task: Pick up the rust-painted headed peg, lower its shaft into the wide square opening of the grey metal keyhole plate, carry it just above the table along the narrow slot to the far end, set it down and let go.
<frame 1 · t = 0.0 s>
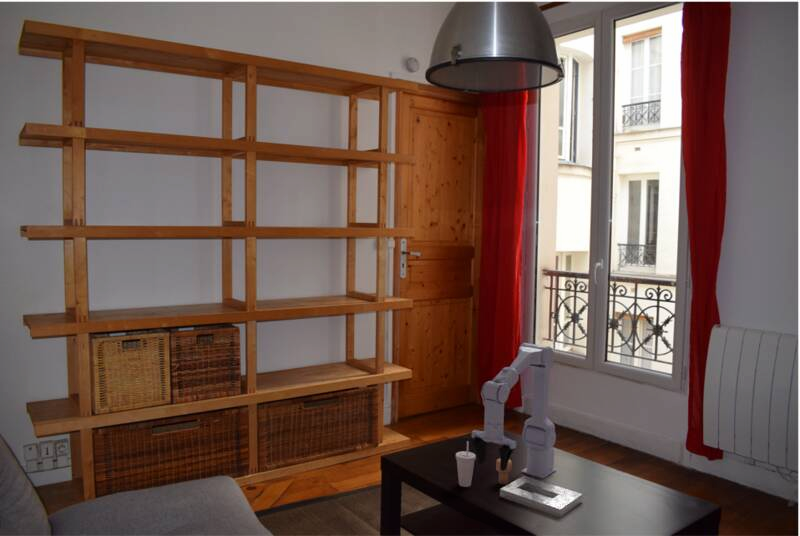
hand: (492, 466, 192), 10 cm above the table, fingers open, 7 cm apart
smoothie: (464, 485, 203), on the table
peg: (503, 482, 205), on the table
keyhole plate: (540, 499, 193), on the table
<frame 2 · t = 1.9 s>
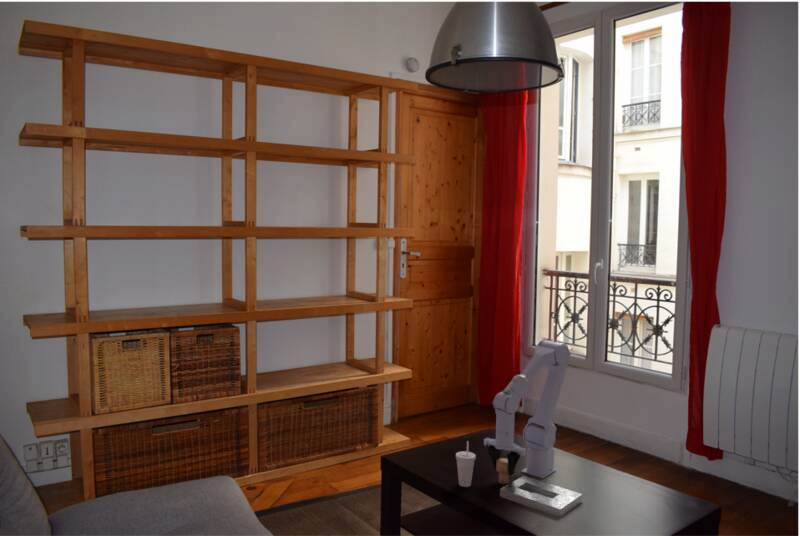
hand: (503, 471, 205), 3 cm above the table, fingers closed on peg, 5 cm apart
peg: (503, 482, 205), on the table, touching gripper
everything else where it was.
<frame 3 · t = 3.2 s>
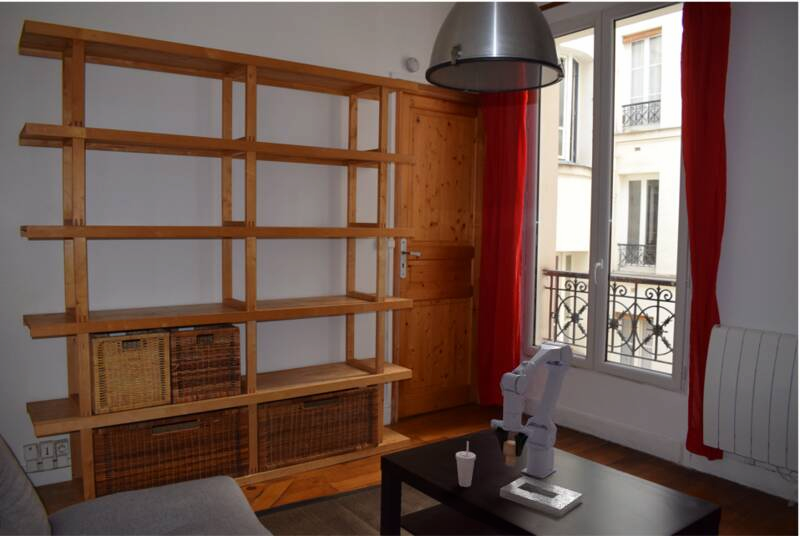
hand: (511, 453, 202), 10 cm above the table, fingers closed on peg, 5 cm apart
peg: (510, 464, 202), point 7 cm above the table, touching gripper
everything else where it was.
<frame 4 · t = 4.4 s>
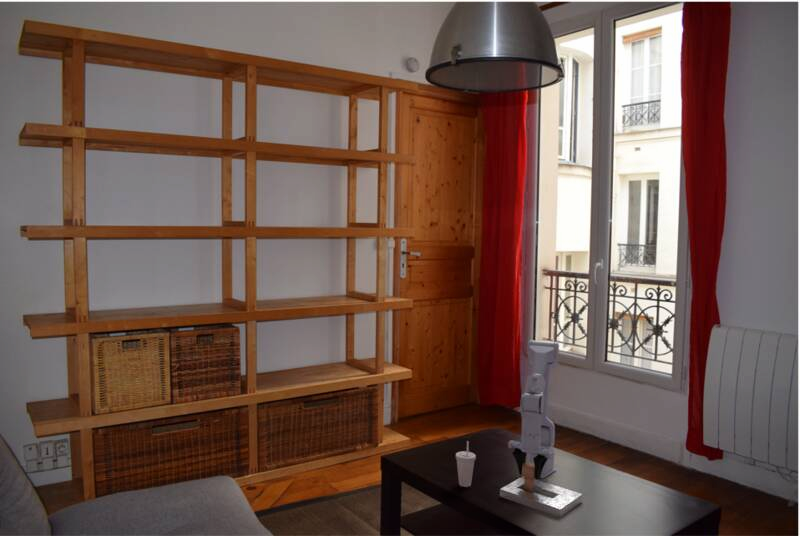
hand: (529, 476, 195), 6 cm above the table, fingers closed on peg, 5 cm apart
peg: (528, 487, 195), point 2 cm above the table, touching gripper
everything else where it was.
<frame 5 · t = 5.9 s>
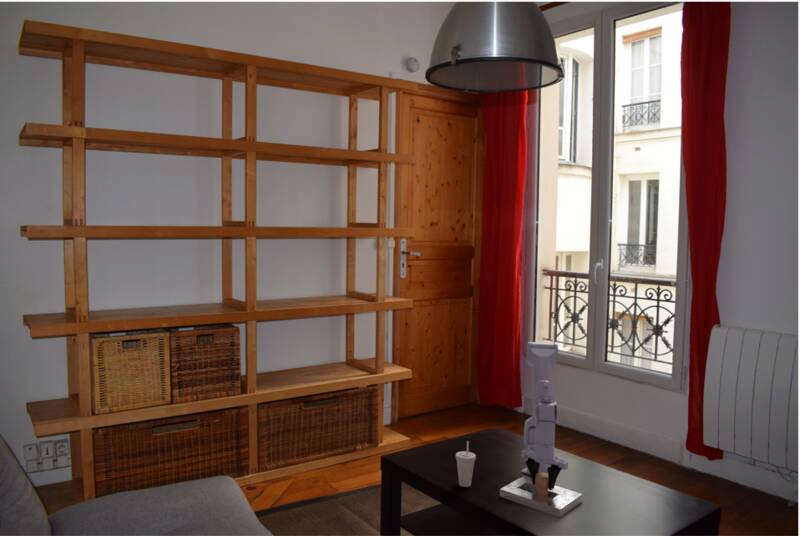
hand: (543, 486, 192), 4 cm above the table, fingers closed on peg, 5 cm apart
peg: (542, 498, 192), point 1 cm above the table, touching gripper
everything else where it was.
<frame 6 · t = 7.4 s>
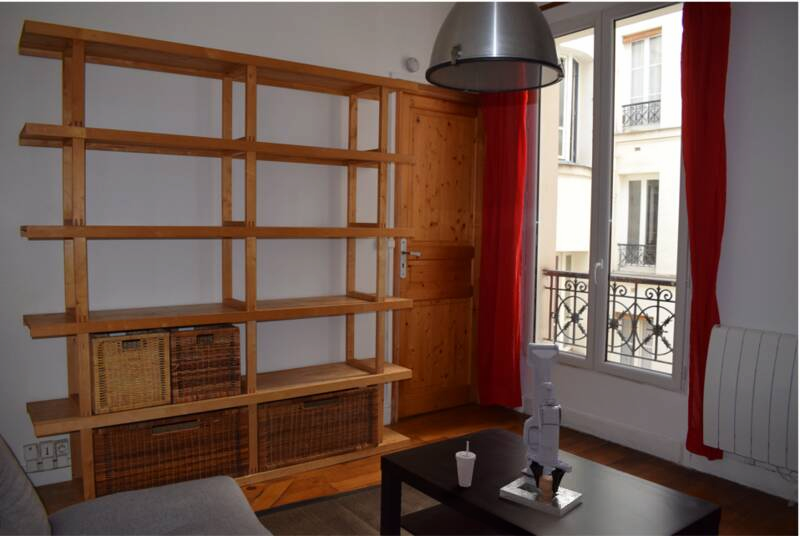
hand: (547, 489, 191), 4 cm above the table, fingers closed on peg, 5 cm apart
peg: (546, 501, 192), resting in keyhole plate, touching gripper
everything else where it was.
when the fingers open (4 cm above the table, at t = 7.5 s): peg stays where it is, resting in keyhole plate.
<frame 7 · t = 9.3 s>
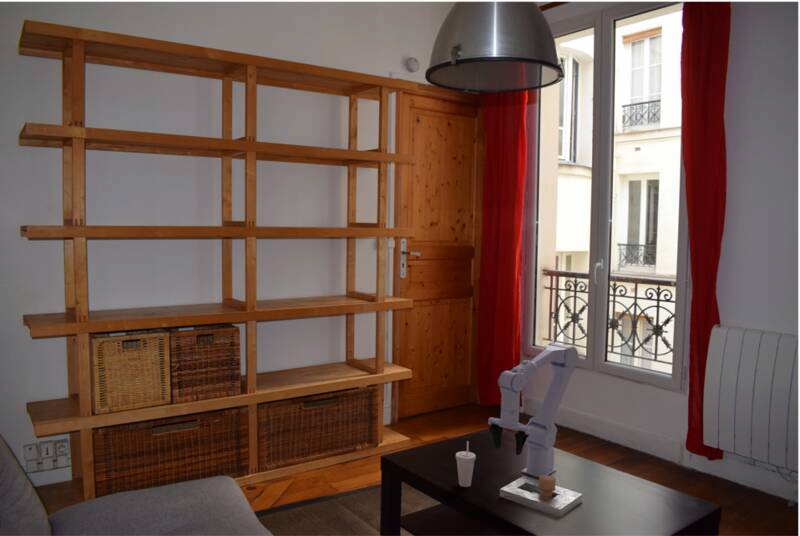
hand: (508, 451, 204), 10 cm above the table, fingers open, 7 cm apart
peg: (546, 501, 192), resting in keyhole plate
everything else where it was.
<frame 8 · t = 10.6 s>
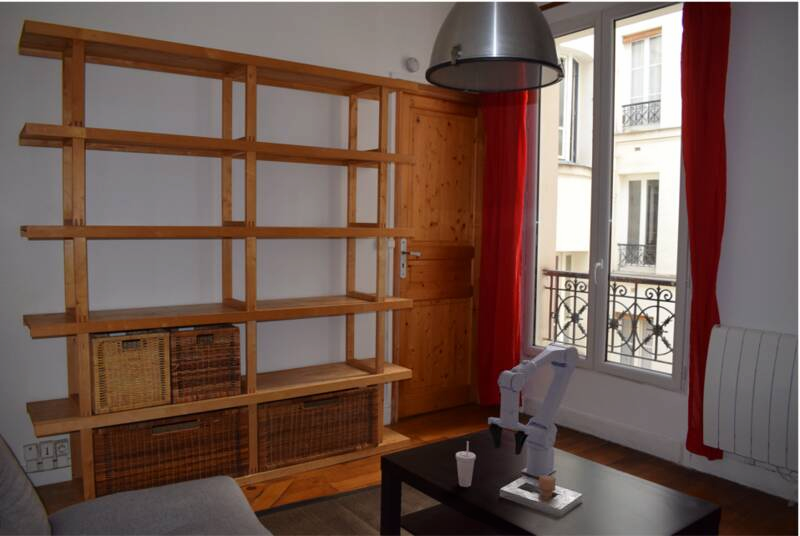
hand: (507, 450, 204), 10 cm above the table, fingers open, 7 cm apart
nothing on the table moved.
at the end: peg 0.5 cm from the target spot on the keyhole plate, point 0.0 cm above the keyhole plate's base; peg tilted 0°; the gripper is holding nothing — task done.
